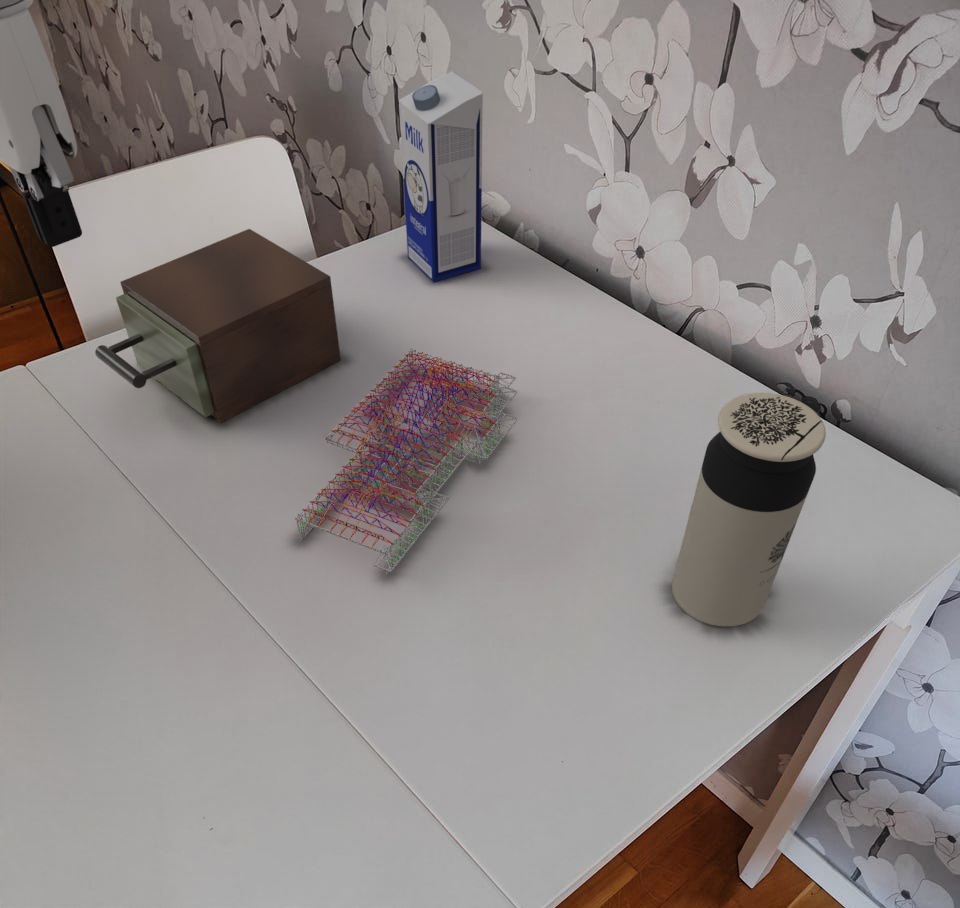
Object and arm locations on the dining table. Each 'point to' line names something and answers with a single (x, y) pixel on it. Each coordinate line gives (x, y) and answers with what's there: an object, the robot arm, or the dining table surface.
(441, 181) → the milk carton
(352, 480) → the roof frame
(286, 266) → the cabinet
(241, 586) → the dining table surface
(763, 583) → the travel mug
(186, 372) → the drawer
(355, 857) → the dining table surface
